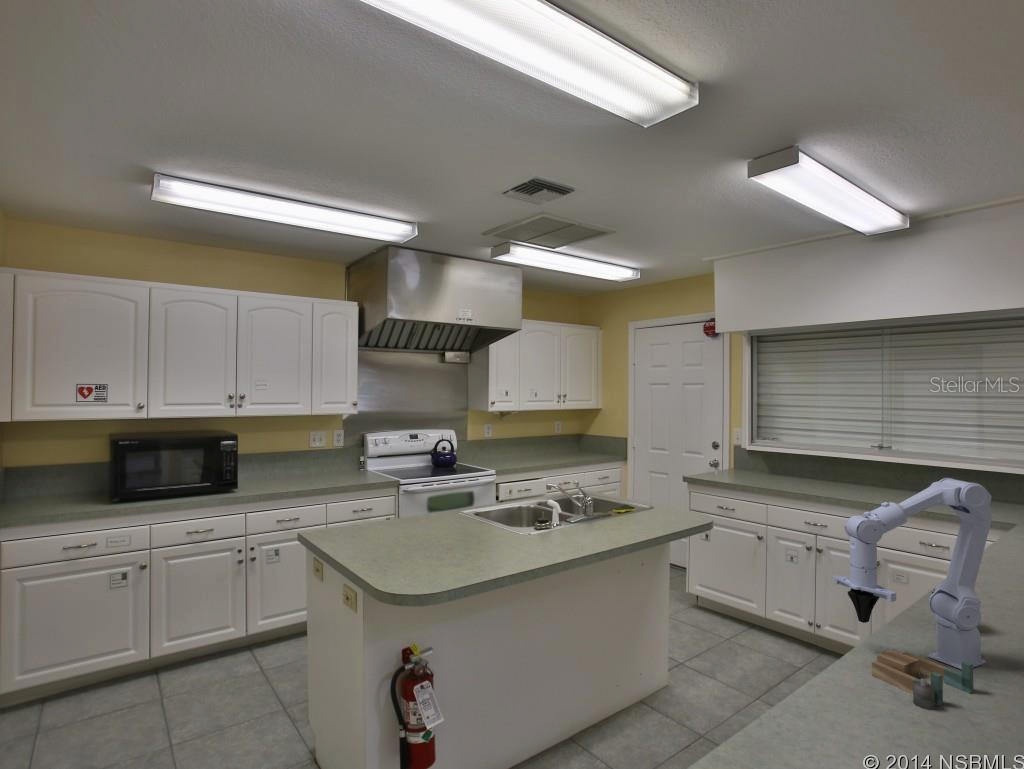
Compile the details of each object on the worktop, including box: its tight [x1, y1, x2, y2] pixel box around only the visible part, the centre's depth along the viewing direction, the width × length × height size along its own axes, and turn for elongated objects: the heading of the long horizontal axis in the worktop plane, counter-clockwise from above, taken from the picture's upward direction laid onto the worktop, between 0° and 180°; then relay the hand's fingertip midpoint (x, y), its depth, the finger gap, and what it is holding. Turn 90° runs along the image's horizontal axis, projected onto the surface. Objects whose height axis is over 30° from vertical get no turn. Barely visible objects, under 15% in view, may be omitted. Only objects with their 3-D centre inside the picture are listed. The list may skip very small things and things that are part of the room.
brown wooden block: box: [876, 649, 921, 679], centre depth 132 cm, size 6×6×4 cm
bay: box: [871, 651, 975, 710], centre depth 126 cm, size 17×14×6 cm
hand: (863, 621), depth 139 cm, fingers closed
